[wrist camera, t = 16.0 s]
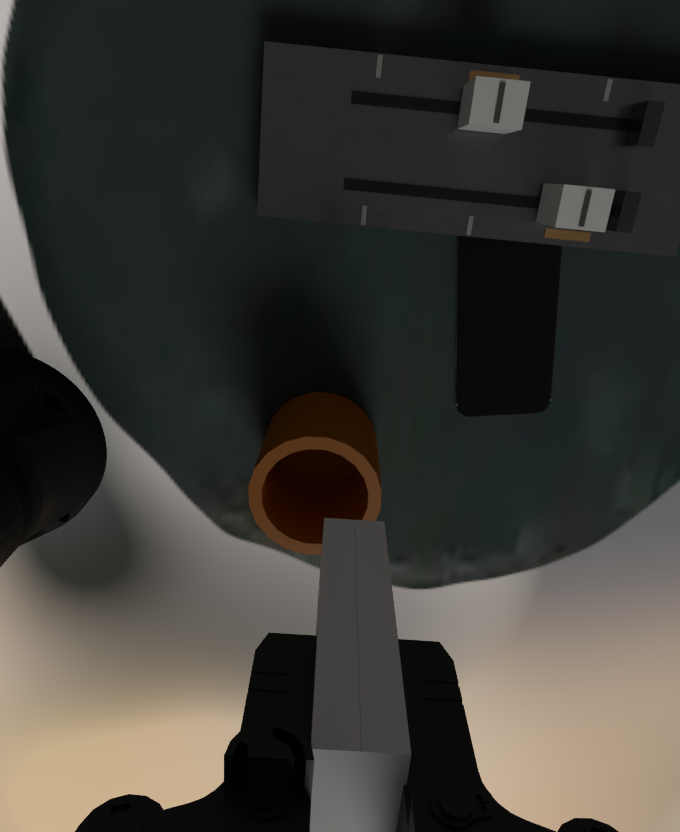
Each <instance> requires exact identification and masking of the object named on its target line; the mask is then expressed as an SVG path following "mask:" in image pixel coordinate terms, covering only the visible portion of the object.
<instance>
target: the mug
mask: <svg viewBox="0 0 680 832" xmlns="http://www.w3.org/2000/svg"><path fill="white" fill-rule="evenodd" d="M381 494H382V490H381V480H380V470H379V460H378V449H377V439H376V435H375V432H374V428H373V425H372V422H371V421H370V419H369V418H368V417H367V415H366V414H365V412H364V411H363V409H361V408H360V407H359V406H357V405H356V404H355V403H353V402H352V401H351V400H349V399H348V398H345V397H342V396H339V395H336V394H334V393H324V392H312V393H308V394H304V395H301V396H297V397H295V398H293V399H292V400H290V401H289V402H287V403H286V404H284V405H282V406H281V408H280V409H279V410H278V411H277V413H276V414H275V415H274V416H273V418H272V419H271V422H270V425H269V427H268V430H267V433H266V436H265V439H264V442H263V445H262V448H261V451H260V454H259V457H258V460H257V463H256V466H255V469H254V472H253V474H252V477H251V480H250V483H249V506H250V508H251V511H252V514H253V516H254V519H255V522H256V523H257V524H258V526H259V527H260V528H261V529H262V530H263V532H264V533H265V534H266V535H267V537H269V538H270V539H272V540H273V541H275V542H276V543H278V544H279V545H281V546H282V547H284V548H286V549H289V550H292V551H295V552H299V553H302V554H315V555H321V554H322V541H323V527H324V518H335V519H350V520H365V521H376V519H377V516H378V514H379V512H380V508H381Z"/></svg>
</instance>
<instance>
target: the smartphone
mask: <svg viewBox="0 0 680 832" xmlns="http://www.w3.org/2000/svg"><path fill="white" fill-rule="evenodd" d="M561 250H562V246H560V245H550V244H540V243H529V242H519V241H509V240H499V239H488V238H478V237H468V236H458V235H457V310H456V345H455V368H456V390H455V405H456V408H457V410H458V411H459V412H460V413H461V414H462V415H464V416H468V417H471V416H491V415H510V414H530V413H539V412H542V411H544V410H545V409H546V408H547V407H548V406H549V404H550V401H551V389H552V375H553V361H554V347H555V333H556V319H557V305H558V292H559V278H560V264H561Z"/></svg>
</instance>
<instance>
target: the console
mask: <svg viewBox="0 0 680 832" xmlns="http://www.w3.org/2000/svg"><path fill="white" fill-rule="evenodd" d="M475 76H483V77H492V78H502V79H512V80H521V81H531V82H530V88H529V93H528V99H527V104H526V110H525V115H524V120H523V126H522V130H519V131H515V132H511V133H507V134H499V133H490V132H480V131H470V130H460V129H457V126H458V119H459V113H460V106H461V99H462V92H463V86H464V85H465V84H466V83H468V82H469V81H470V80H472V79H473V78H474V77H475ZM544 183H546V184H566V185H576V186H586V187H596V188H606V189H615V193H614V197H613V202H612V206H611V210H610V214H609V218H608V222H607V226H606V230H605V232H596V231H585V230H575V229H565V228H555V227H551V226H547V225H543V224H539V223H536V219H537V214H538V209H539V204H540V199H541V194H542V189H543V184H544ZM257 216H263V217H273V218H284V219H294V220H304V221H314V222H325V223H335V224H345V225H355V226H366V227H376V228H386V229H396V230H407V231H417V232H427V233H437V234H447V235H458V236H468V237H478V238H488V239H499V240H509V241H519V242H529V243H540V244H550V245H560V246H570V247H581V248H591V249H601V250H611V251H622V252H632V253H642V254H652V255H663V256H673V257H676V253H677V250H678V247H679V243H680V84H672V83H662V82H653V81H643V80H633V79H624V78H614V77H604V76H595V75H585V74H575V73H566V72H556V71H547V70H537V69H527V68H518V67H508V66H498V65H489V64H479V63H469V62H460V61H450V60H440V59H431V58H421V57H412V56H402V55H392V54H383V53H373V52H363V51H354V50H344V49H334V48H325V47H315V46H305V45H296V44H286V43H276V42H267V41H264V59H263V84H262V109H261V133H260V158H259V183H258V207H257Z"/></svg>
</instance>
